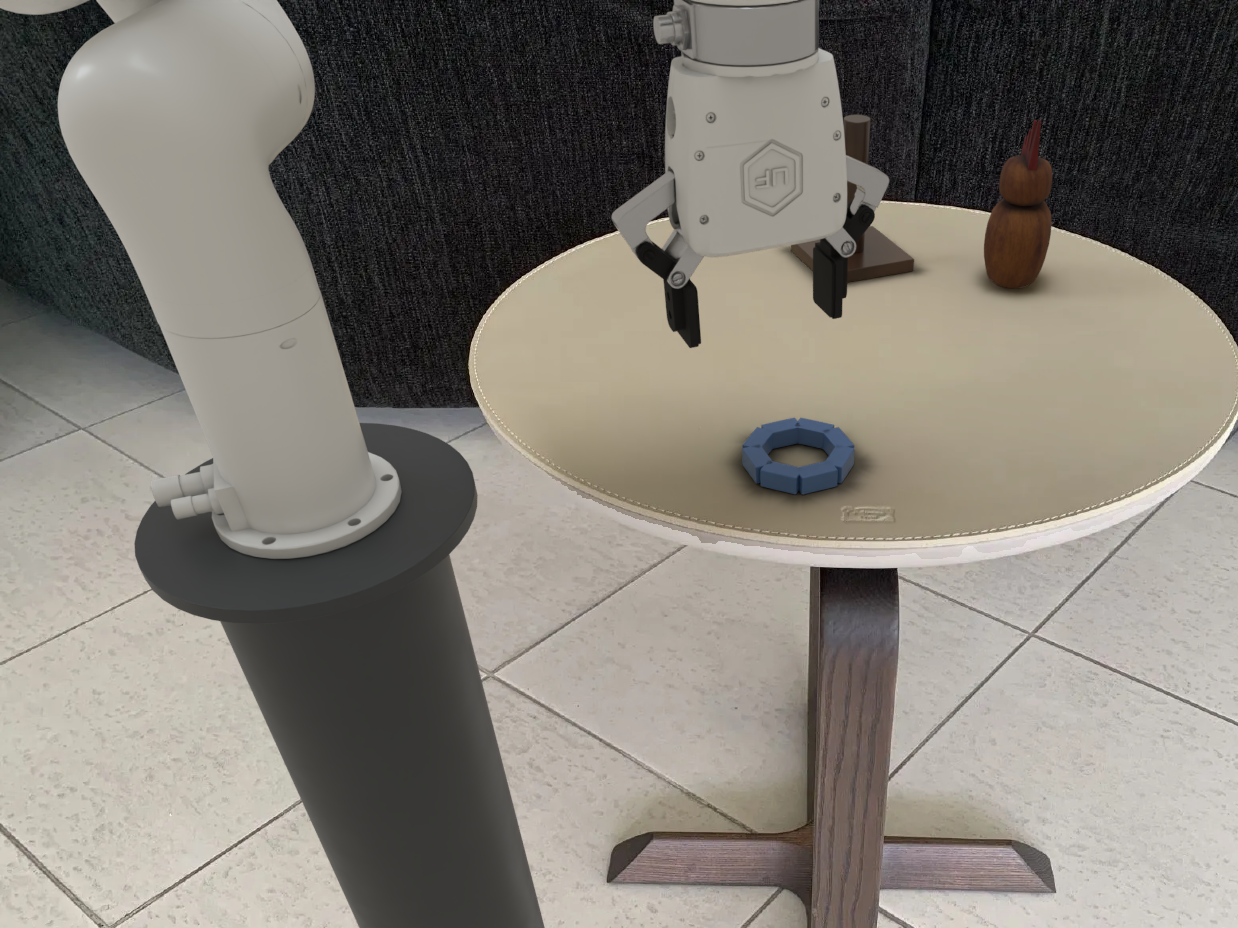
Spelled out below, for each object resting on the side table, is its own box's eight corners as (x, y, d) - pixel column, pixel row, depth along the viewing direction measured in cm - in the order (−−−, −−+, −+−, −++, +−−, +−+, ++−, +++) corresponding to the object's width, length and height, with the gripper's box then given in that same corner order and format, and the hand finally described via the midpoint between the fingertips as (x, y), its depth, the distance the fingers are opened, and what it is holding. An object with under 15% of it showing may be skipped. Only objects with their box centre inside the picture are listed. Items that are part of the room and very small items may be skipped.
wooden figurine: (1035, 300, 98) (1063, 128, 88) (973, 290, 99) (994, 120, 90) (1047, 271, 103) (1075, 106, 93) (988, 262, 104) (1010, 99, 95)
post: (828, 286, 100) (832, 139, 91) (790, 250, 106) (791, 110, 98) (913, 271, 103) (925, 127, 94) (872, 237, 109) (879, 99, 100)
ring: (769, 503, 73) (769, 486, 72) (730, 447, 78) (729, 431, 78) (869, 479, 75) (870, 462, 75) (824, 426, 81) (824, 410, 80)
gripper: (613, 65, 53) (647, 377, 64) (924, 28, 58) (905, 323, 69) (575, 32, 58) (612, 325, 69) (862, 1, 63) (854, 278, 74)
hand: (759, 324), depth 69 cm, fingers open, 9 cm apart
